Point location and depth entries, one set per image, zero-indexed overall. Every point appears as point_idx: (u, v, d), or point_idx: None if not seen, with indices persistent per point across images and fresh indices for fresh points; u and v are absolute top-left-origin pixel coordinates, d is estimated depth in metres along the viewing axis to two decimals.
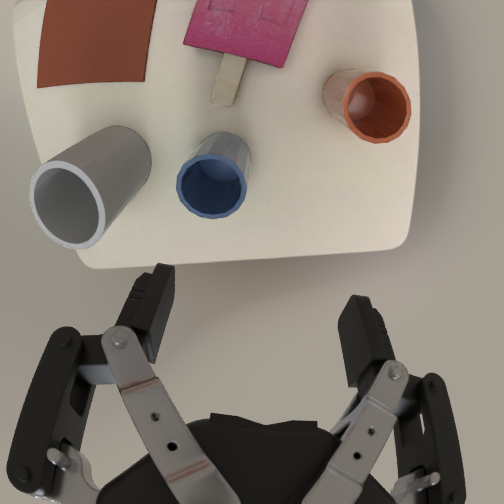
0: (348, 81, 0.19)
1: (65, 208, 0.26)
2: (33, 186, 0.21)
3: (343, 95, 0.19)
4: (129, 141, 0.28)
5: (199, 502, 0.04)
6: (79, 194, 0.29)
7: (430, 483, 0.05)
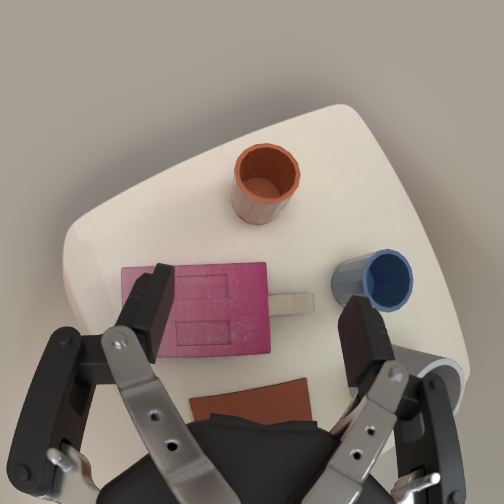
0: (257, 204, 0.27)
1: None
2: None
3: (273, 203, 0.26)
4: None
5: (199, 502, 0.04)
6: None
7: (430, 483, 0.05)
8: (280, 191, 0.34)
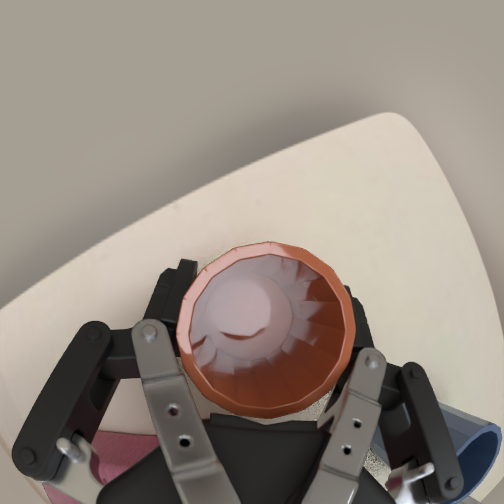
0: None
1: None
2: None
3: None
4: None
5: (199, 502, 0.04)
6: None
7: (425, 474, 0.06)
8: (294, 305, 0.17)
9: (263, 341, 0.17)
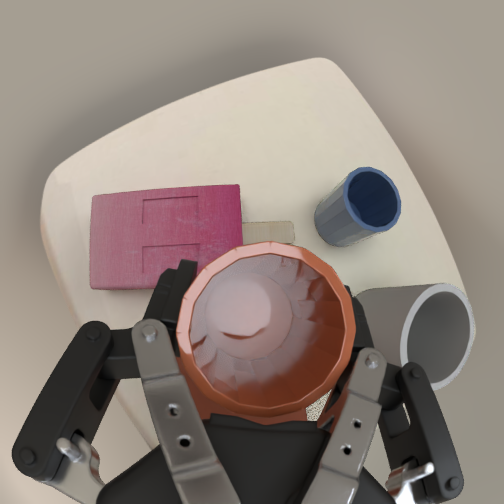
0: None
1: (437, 353, 0.23)
2: None
3: None
4: None
5: (199, 502, 0.04)
6: (418, 349, 0.26)
7: (425, 474, 0.06)
8: (294, 305, 0.17)
9: (263, 341, 0.17)
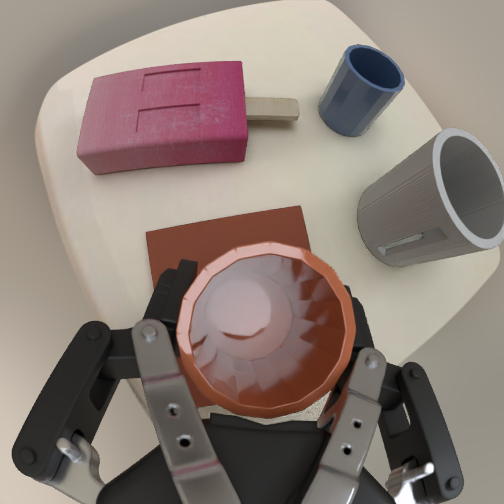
0: None
1: (472, 230, 0.19)
2: (476, 238, 0.15)
3: None
4: (372, 191, 0.25)
5: (199, 502, 0.04)
6: None
7: (425, 474, 0.06)
8: (294, 305, 0.16)
9: (263, 341, 0.17)
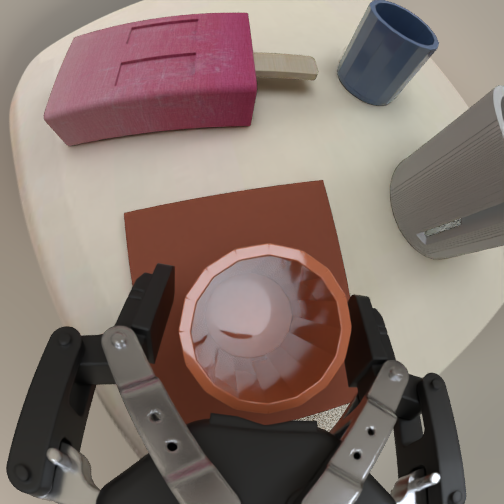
0: None
1: None
2: None
3: None
4: (409, 164, 0.18)
5: (199, 502, 0.04)
6: None
7: (430, 483, 0.05)
8: (293, 304, 0.17)
9: (263, 339, 0.17)
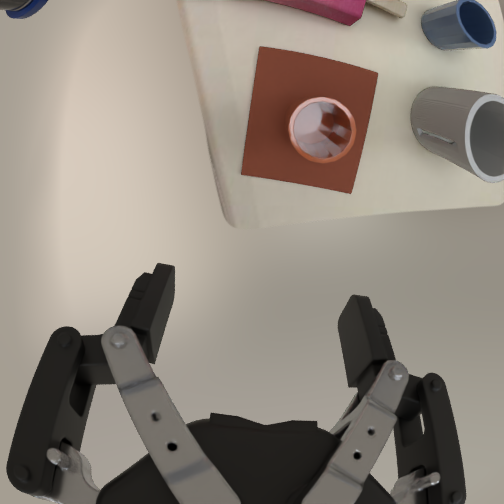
0: None
1: (483, 162, 0.23)
2: (476, 166, 0.20)
3: (315, 161, 0.25)
4: (431, 92, 0.25)
5: (199, 502, 0.04)
6: None
7: (430, 483, 0.05)
8: (334, 125, 0.29)
9: (313, 135, 0.31)
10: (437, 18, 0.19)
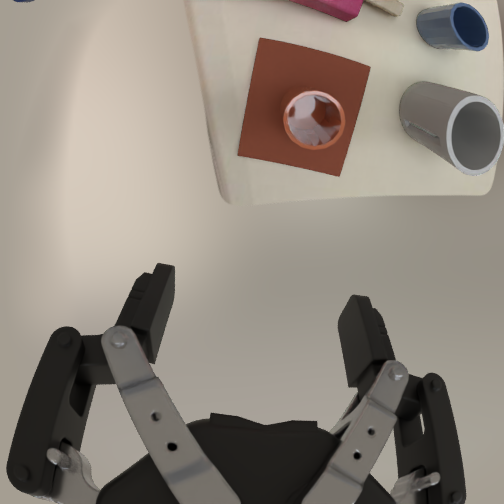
0: None
1: (465, 155, 0.26)
2: (456, 160, 0.23)
3: None
4: (420, 87, 0.27)
5: (199, 502, 0.04)
6: None
7: (430, 483, 0.05)
8: (326, 114, 0.31)
9: (306, 122, 0.33)
10: (432, 19, 0.20)
